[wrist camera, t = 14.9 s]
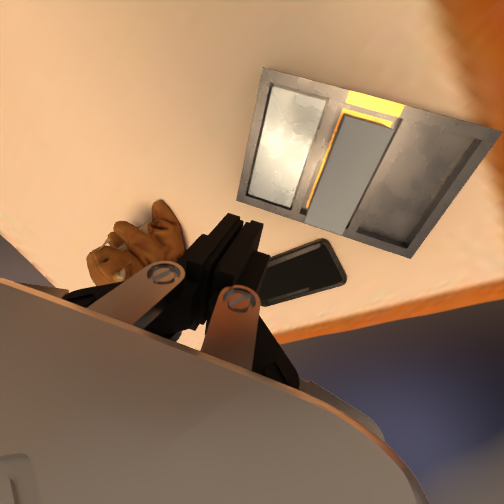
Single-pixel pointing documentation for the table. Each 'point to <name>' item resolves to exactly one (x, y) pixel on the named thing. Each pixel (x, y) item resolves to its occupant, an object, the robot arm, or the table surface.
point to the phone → (301, 273)
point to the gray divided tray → (385, 174)
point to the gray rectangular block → (346, 172)
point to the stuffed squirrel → (136, 247)
